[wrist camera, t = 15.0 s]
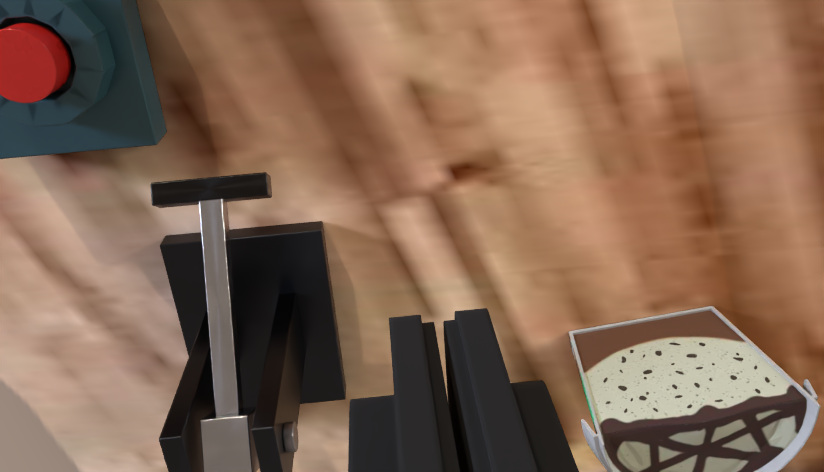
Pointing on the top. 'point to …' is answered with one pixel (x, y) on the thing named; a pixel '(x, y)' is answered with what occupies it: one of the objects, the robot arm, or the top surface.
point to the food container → (688, 397)
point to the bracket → (257, 338)
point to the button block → (86, 82)
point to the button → (31, 62)
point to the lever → (220, 313)
